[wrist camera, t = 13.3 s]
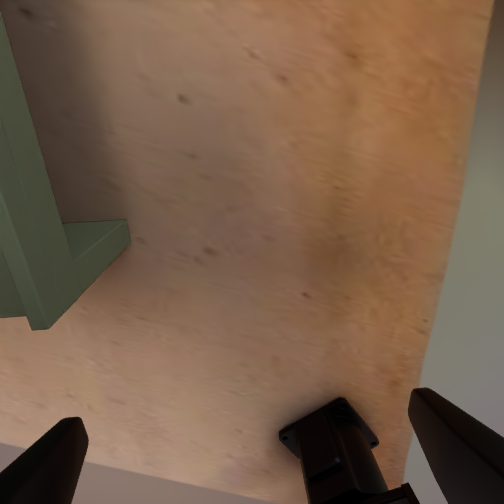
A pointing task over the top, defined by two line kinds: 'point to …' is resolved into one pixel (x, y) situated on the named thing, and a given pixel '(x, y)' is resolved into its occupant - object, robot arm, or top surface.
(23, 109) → the shelf
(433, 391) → the robot arm
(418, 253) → the top surface
